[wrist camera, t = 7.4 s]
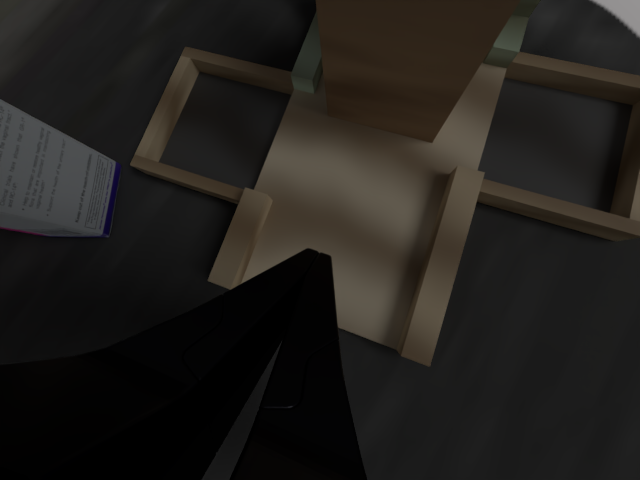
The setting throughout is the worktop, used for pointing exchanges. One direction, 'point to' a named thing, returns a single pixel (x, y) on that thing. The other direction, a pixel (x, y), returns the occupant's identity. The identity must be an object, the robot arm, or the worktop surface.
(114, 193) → the supplement box
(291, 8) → the worktop surface
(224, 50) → the worktop surface
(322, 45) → the walnut block
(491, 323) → the worktop surface
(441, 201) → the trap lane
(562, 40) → the worktop surface
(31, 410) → the robot arm
